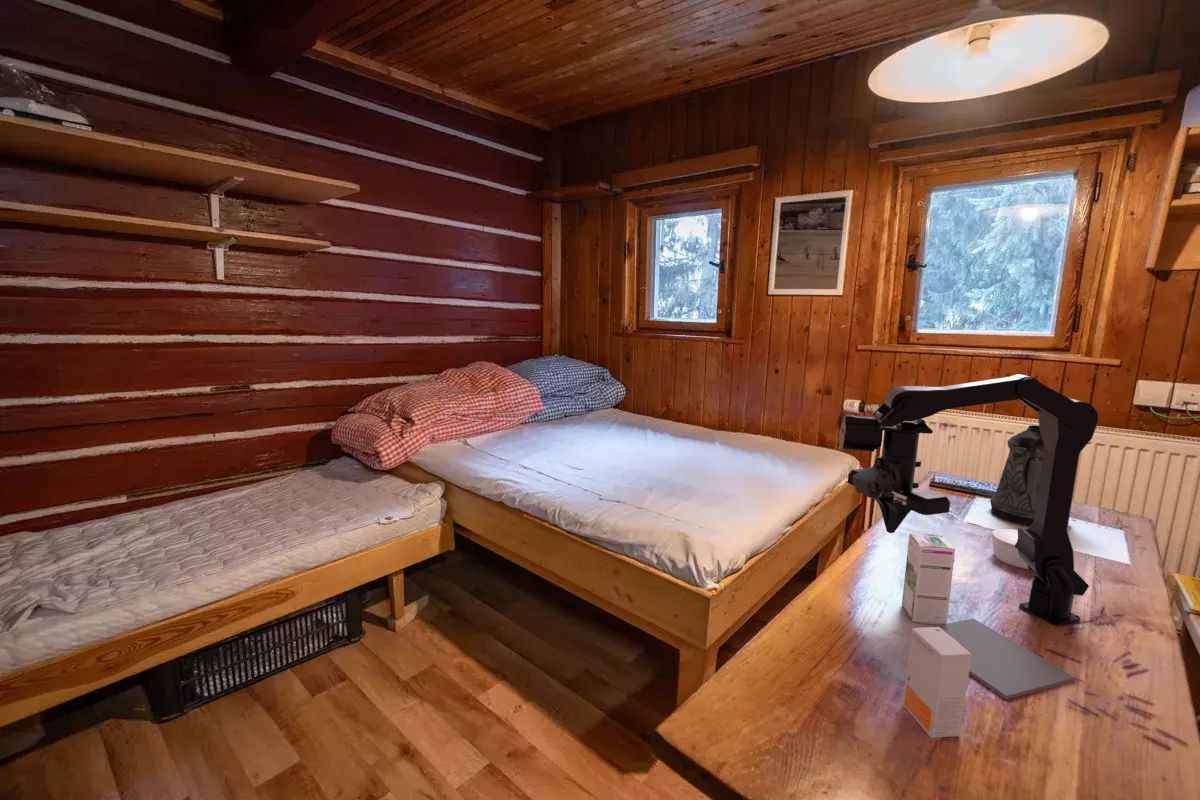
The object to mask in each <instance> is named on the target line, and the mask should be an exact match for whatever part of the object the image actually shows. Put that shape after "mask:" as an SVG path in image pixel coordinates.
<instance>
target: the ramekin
mask: <svg viewBox="0 0 1200 800" xmlns="http://www.w3.org/2000/svg"><path fill="white" fill-rule="evenodd" d="M991 538H992V551H993V554H994V556H995V557H996V559H998V560H999V561H1001V562H1003V563H1005V564H1007V565H1010V566H1013V567H1016V568H1020V569H1025V570H1029V569H1028V566H1027V564H1026V563H1025V562H1024V561H1023V560H1022V559H1021V557H1020V556H1019V554H1018V550H1017V549H1016V548H1015V547H1014V546H1015V544H1016V543H1017V540H1018V529H1012V528H999V529H998V528H997V529H994V530H993V531H991Z"/></svg>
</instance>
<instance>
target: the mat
mask: <svg viewBox="0 0 1200 800" xmlns="http://www.w3.org/2000/svg"><path fill="white" fill-rule="evenodd" d="M933 627H940V628H941V629H942V630H943V631H945V632H946V633H947V634H948V635H949V636H951V637H952V638H954V639H955V640H956V641H958V642H959V644H960V645H961V646H962V647H964V648H965V649H966V650H967V651H968V652H970V653H971V654H972V658H971V664H970V670H969V676H971V677H972V678H974V679H975V680H977V681H979V682H980V683H981V684H982V685H984V686H985V687H987V688H989V689H990V690H992V691H993V692H994V693H995V694H997V695H999V696H1000V697H1001V698H1003V699H1004V700H1005V701H1007V700H1010V699H1015V698H1017V697H1021V696H1025V695H1029V694H1032V693H1036V692H1039V691H1044V690H1047V689H1051V688H1054V687H1057V686H1061V685H1066V684H1068V683H1073V682H1075V681H1076V676H1074V675H1072V674H1070V673H1068V671H1065V670H1063V669H1061V668H1060V667H1058V666H1056V665H1055V664H1053V663H1051V662H1049V660H1046V659H1045V658H1042V657H1041V656H1039V655H1038V654H1035V653H1034V652H1033V651H1031V650H1029V649H1027V648H1025V647H1024V646H1022V645H1020V644H1018V643H1017V642H1015V641H1014V640H1012V639H1011V638H1009V637H1006V636H1005V635H1003V634H1001V633H1000V632H998V631H996V630H994V629H993V628H991V627H989V626H988V625H986V624H984V623H983V622H981V621H979V620H977V619H976V618H974V617H973V618H968V619H964V620H959V621H955V622H954V621H953V622H949V623H948V622H947V623H946V624H943V625H936V626H933Z"/></svg>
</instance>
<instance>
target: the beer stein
mask: <svg viewBox="0 0 1200 800" xmlns="http://www.w3.org/2000/svg"><path fill="white" fill-rule="evenodd" d="M1007 447H1008V449H1009V450H1008V451H1009V453H1008V455H1007V459H1006V461H1005V464H1004V467H1003V470H1002V474H1001V476H1000V480H999V483H998V485H997V488H996V490H995V493H993V495H992V496H991V497H990V506H991V509H990V510H991V513H992V514H993V515H994V516H996V517H997V518H999V519H1002V520H1004V521H1007V522H1009V523H1013V524H1015V525H1016V524H1017V525H1018V526H1019V525H1020V526H1023V527H1027V528H1028V527H1029V526H1030V525H1031V524H1032V523H1033V521H1034V516H1035V509H1036V503H1037V496H1038V489H1039V483H1040V476H1041V469H1042V463H1043V456H1044V450H1045V446H1044V442H1043V439H1042V436H1041V433H1040V429H1039V425H1034V424H1033V425H1029V426H1028V427H1027V429H1025V430H1023V431H1021V432H1019V433H1017V434H1015V435H1013V436H1012V437H1010V438H1009V439H1008V440H1007Z"/></svg>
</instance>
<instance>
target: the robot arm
mask: <svg viewBox="0 0 1200 800" xmlns="http://www.w3.org/2000/svg"><path fill="white" fill-rule="evenodd" d="M1017 400H1019V401H1020V402H1022V403H1023V405H1025V406H1027V407H1029V409H1031V410H1033V411H1034V412H1036V413H1037V415H1038V426H1039V429H1040V433H1041V436H1042V439H1043V442H1044V446H1045V450H1044V456H1043V463H1042V469H1041V476H1040V483H1039V489H1038V496H1037V503H1036V509H1035V516H1034V521H1033V523H1032V524H1031V525H1030V526H1029V527H1028V526H1027V528H1023V527H1018V528H1017V530H1018V540H1017V543H1016V544H1015V546H1014V547H1015V548H1016V549H1017V550H1018V554H1019V556H1020V557H1021V559H1022V560H1023V561H1024V562H1025V563H1026V564H1027V566H1028V569H1027V570H1029V571H1030V572H1032V573H1033V574H1034V576H1033V579H1032V584H1031V588H1030V593H1029V598H1028V601H1025V602H1021V603H1019V604H1018V605H1019V608H1021V609H1023V610H1025V611H1028V612H1029V613H1031V614H1033V615H1034V616H1036V617H1039V618H1041V619H1043V620H1045V621H1047V622H1049V623H1050V624H1052V625H1055V626H1060V625H1064V624H1069V623H1072V622H1078V621H1080V620H1081V616H1080V615H1077V614H1076V613H1073V612H1072V609H1073V604H1074V603H1073V602H1074V598H1075V596H1084V595H1085V594H1086V591H1087V590H1088V589H1089V587H1090V585H1089V584H1088V583H1087V582H1086V581H1085V579H1083V578H1082V577H1081V576H1080V575H1079V574H1078V573H1077V572H1076V571H1075V559H1074V558H1075V557H1074V556H1075V555H1074V548H1073V545H1072V542H1071V538H1070V535H1069V532H1068V529H1069V528H1068V527H1069V521H1070V515H1071V509H1072V503H1073V497H1074V491H1075V484H1076V480H1077V479H1076V478H1077V472H1078V466H1079V460H1080V454H1081V452H1082V450H1083V449H1085V447H1086V446H1087V445H1088V444H1089V442H1091V440H1092V439H1093V437H1094V434H1095V432H1096V429H1097V426H1098V424H1099V420H1100V416H1099V415H1100V413H1099V411H1098V410H1097V409H1096V408H1095V407H1094V406H1093V405H1092V404H1090V403H1088V402H1085V401H1083V400H1079V399H1075V398H1071V397H1068V396H1065V395H1064V394H1062V393H1060V392H1058V391H1055V390H1054V389H1052V388H1050V387H1048V386H1047V385H1045V384H1044V383H1042V382H1040V381H1039V380H1038V379H1037V378H1036V377H1033V376H1028V375H1025V374H1022V373H1021V374H1014V375H1010V376H1006V377H1000V378H992V379H987V380H986V379H985V380H978V381H973V382H966V383H964V382H963V383H959V384H951V385H946V386H945V385H944V386H923V385H922V386H921V385H920V386H919V385H900V386H899V385H898V386H894V387H892V388H890V390H889V391H888V392H887V393H886V395H885V397H884V401H883V403H882V404H881V405H880V406H879V407H877V409H876V410H874V412H873V413H872V414H871V415H870V416H863V415H862V416H861V415H860V416H859V415H854V414H848V413H847V414H844V415H843V421H842V423H841V428H839V436H838V437H839V439H838V441H839V449H840V450H841V451H854V452H864V453H865V452H866V453H874V452H875V451H876V450H879V448H881V446H882V449H881V455H879V456H876V458H875V459H874V464H873V466H871V467H866V468H857V469H855V468H854V469H852V470H851V471H850V472H849V473H848V475H847V484H849V485H850V486H854V489H855V492H856V493H858V494H863V495H865V496H866V497H868V498H870V499H873V500H874V501H875V502H877V504H878V506H879V509H880V511H881V512H880V513H881V514H882V519H883V523H884V526H885V530H886V532H887V533H889V534H893V533H894V534H895V532H896V531H897V529H898V528H899V527H900V525H901V524H902V523H903V521H904V520H905V519H906V517H907V516H908V515H909V513H911V511H913V512H915V513H917V514H920V515H922V516H931V515H932V516H933V515H940V514H947V513H950V507H951V501H950V499H949V497H947V496H946V495H943V494H941V493H938V492H935V491H933V490H924V491H915V490H913V489H918V488H919V482H917V481H915V473H916V472H915V471H916V468H921V466H922V461H921V460H918V459H917V458H918V457H917V455H918V447H919V446H918V445H919V441H920V440H919V439H920V434H930V435H931V434H933V431H934V430H933V429H932V428H930V426H928V425H927V423H926V421H925V420H924V419H925V418H928V417H932V416H934V415H936V414H939V413H941V412H944V411H947V410H951V409H958V408H959V409H960V408H965V407H973V406H981V405H985V404H986V405H987V404H988V405H989V404H994V403H1003V402H1010V401H1017Z"/></svg>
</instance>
